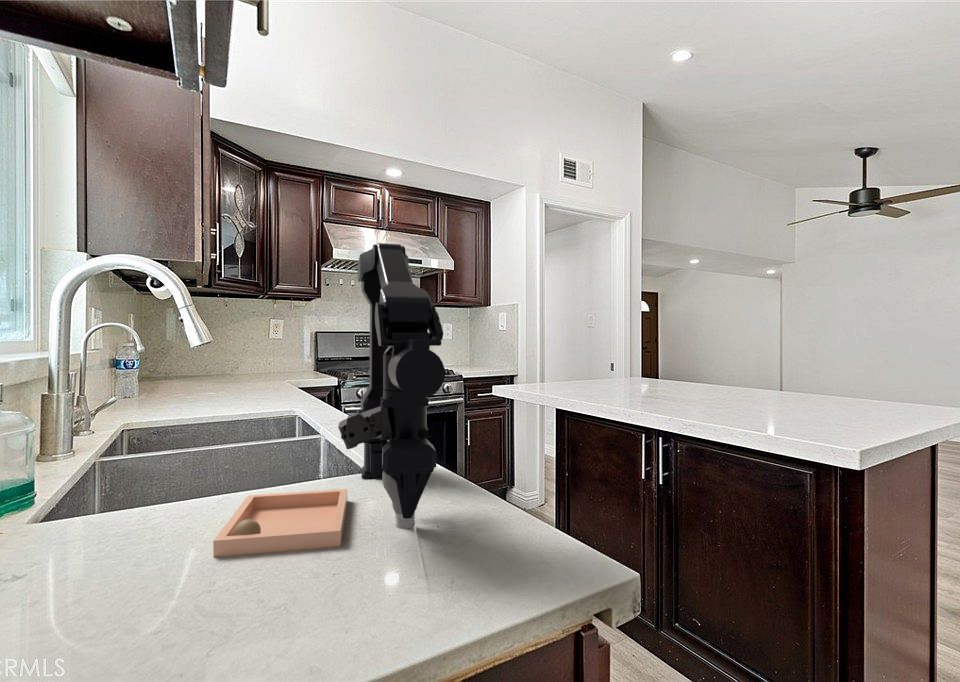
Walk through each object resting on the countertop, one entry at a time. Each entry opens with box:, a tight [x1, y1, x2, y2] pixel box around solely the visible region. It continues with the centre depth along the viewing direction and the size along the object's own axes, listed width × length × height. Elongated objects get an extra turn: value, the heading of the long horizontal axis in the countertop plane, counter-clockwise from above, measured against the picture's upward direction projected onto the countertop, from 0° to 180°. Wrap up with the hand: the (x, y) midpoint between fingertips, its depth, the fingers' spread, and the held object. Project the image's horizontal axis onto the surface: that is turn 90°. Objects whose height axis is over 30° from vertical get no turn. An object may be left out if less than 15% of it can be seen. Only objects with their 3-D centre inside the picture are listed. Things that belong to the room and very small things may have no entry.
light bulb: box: [381, 471, 418, 529], centre depth 65 cm, size 6×6×10 cm
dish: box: [212, 488, 349, 558], centre depth 65 cm, size 16×14×2 cm
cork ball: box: [233, 519, 261, 536], centre depth 59 cm, size 3×3×3 cm
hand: (405, 505), depth 66 cm, fingers open, 9 cm apart
